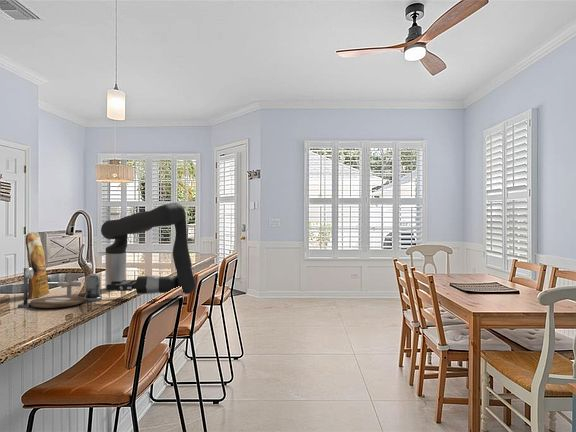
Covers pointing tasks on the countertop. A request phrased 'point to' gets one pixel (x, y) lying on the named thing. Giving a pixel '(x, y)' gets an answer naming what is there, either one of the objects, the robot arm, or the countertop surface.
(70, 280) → the pipe connector
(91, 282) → the grey canister
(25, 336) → the countertop surface
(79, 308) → the countertop surface
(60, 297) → the disc
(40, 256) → the pancake mix bag
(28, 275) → the dial stand
